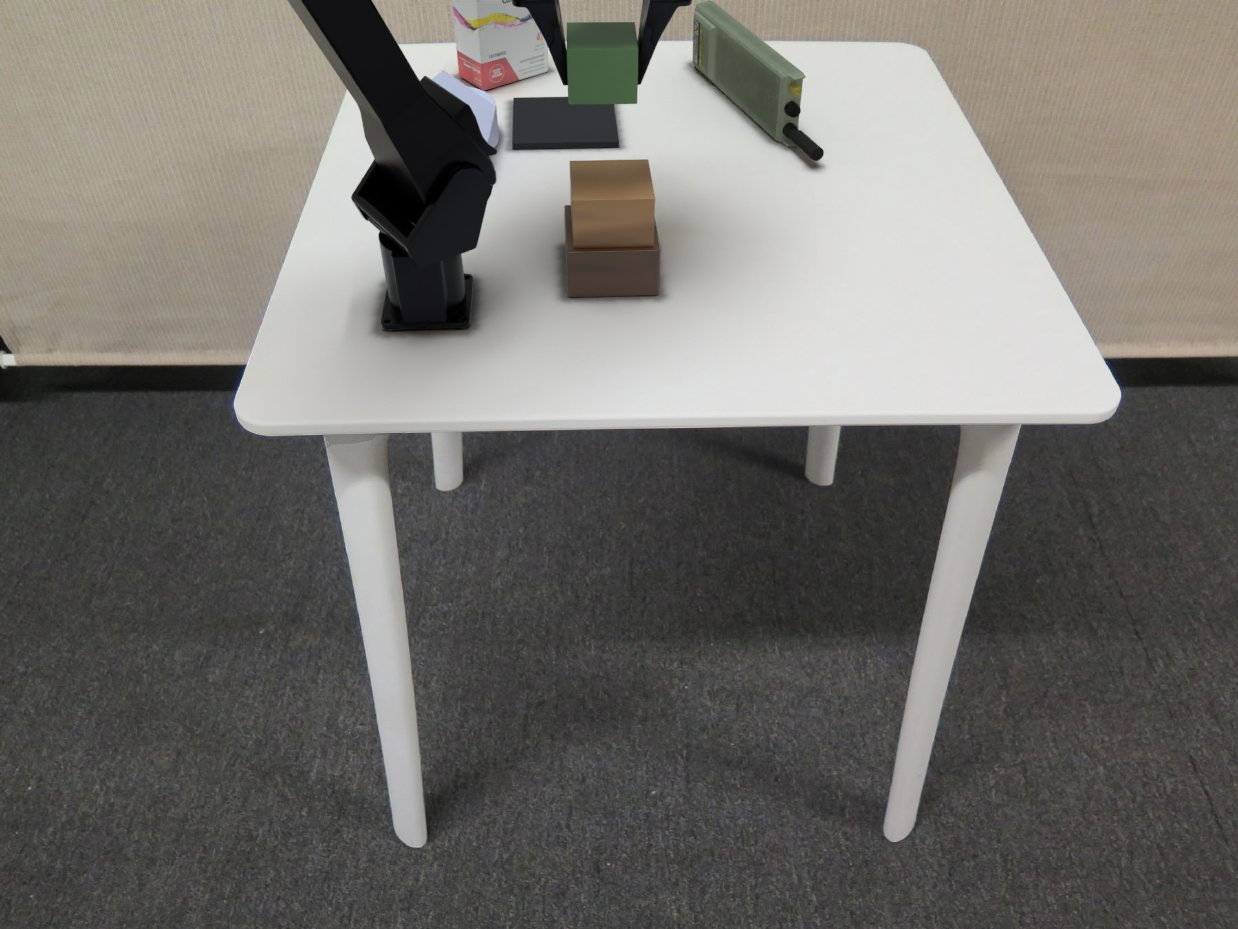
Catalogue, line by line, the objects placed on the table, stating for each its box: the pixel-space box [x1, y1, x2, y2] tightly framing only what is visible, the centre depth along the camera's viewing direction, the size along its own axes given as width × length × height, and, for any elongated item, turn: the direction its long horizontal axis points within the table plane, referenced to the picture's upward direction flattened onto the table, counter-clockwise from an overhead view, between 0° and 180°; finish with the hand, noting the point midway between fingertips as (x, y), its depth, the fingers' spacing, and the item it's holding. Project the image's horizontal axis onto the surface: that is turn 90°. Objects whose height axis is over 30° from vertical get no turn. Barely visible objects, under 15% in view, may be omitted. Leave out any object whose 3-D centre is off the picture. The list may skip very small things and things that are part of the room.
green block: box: [566, 21, 639, 105], centre depth 74 cm, size 5×5×4 cm
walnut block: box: [563, 204, 661, 298], centre depth 79 cm, size 7×7×4 cm
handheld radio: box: [692, 0, 825, 162], centre depth 99 cm, size 7×3×25 cm
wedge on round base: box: [430, 69, 500, 149], centre depth 92 cm, size 9×7×13 cm
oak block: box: [569, 158, 656, 248], centre depth 76 cm, size 6×6×4 cm
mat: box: [511, 96, 620, 150], centre depth 99 cm, size 10×10×1 cm
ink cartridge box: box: [451, 0, 549, 91], centre depth 102 cm, size 9×5×15 cm, turn 130°
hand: (602, 82), depth 75 cm, fingers closed on green block, 5 cm apart
